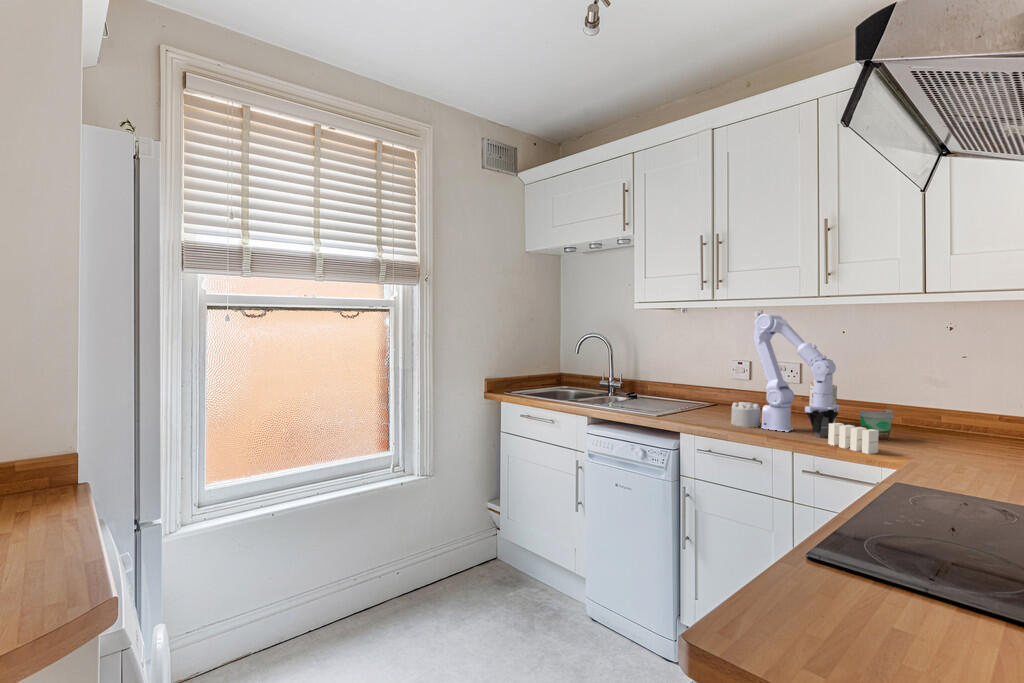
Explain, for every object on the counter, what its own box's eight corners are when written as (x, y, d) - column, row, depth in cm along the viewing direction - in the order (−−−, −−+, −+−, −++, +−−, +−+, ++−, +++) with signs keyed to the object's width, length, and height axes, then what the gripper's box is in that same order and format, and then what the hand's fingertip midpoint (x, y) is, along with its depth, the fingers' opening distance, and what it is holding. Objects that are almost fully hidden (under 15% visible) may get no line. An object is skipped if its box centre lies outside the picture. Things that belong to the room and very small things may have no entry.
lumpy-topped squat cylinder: (759, 423, 206) (760, 401, 206) (760, 428, 194) (760, 406, 194) (731, 421, 210) (732, 400, 210) (730, 426, 198) (731, 404, 198)
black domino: (814, 436, 181) (814, 417, 181) (823, 435, 182) (823, 416, 182) (819, 437, 179) (820, 418, 179) (828, 436, 180) (829, 417, 180)
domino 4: (861, 452, 158) (862, 430, 158) (871, 451, 160) (872, 429, 159) (868, 453, 156) (869, 431, 156) (877, 452, 158) (878, 430, 158)
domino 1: (828, 444, 168) (828, 423, 168) (837, 443, 170) (838, 422, 170) (833, 445, 167) (834, 424, 166) (843, 444, 168) (843, 423, 168)
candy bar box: (807, 421, 212) (809, 381, 211) (820, 421, 212) (821, 381, 211) (823, 426, 201) (824, 384, 200) (836, 426, 201) (837, 384, 200)
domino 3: (850, 449, 162) (850, 427, 161) (859, 448, 163) (860, 426, 163) (856, 451, 160) (857, 429, 159) (865, 450, 161) (866, 428, 161)
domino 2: (838, 447, 165) (839, 425, 165) (848, 446, 167) (848, 424, 166) (844, 448, 163) (845, 426, 163) (854, 447, 165) (855, 425, 164)
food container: (874, 442, 173) (875, 412, 172) (858, 438, 179) (859, 410, 178) (902, 440, 176) (903, 411, 176) (885, 436, 182) (886, 408, 182)
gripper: (818, 395, 174) (817, 435, 174) (847, 394, 179) (846, 432, 179) (800, 393, 180) (799, 431, 181) (829, 391, 186) (828, 428, 186)
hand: (821, 431), depth 181 cm, fingers closed on black domino, 4 cm apart
